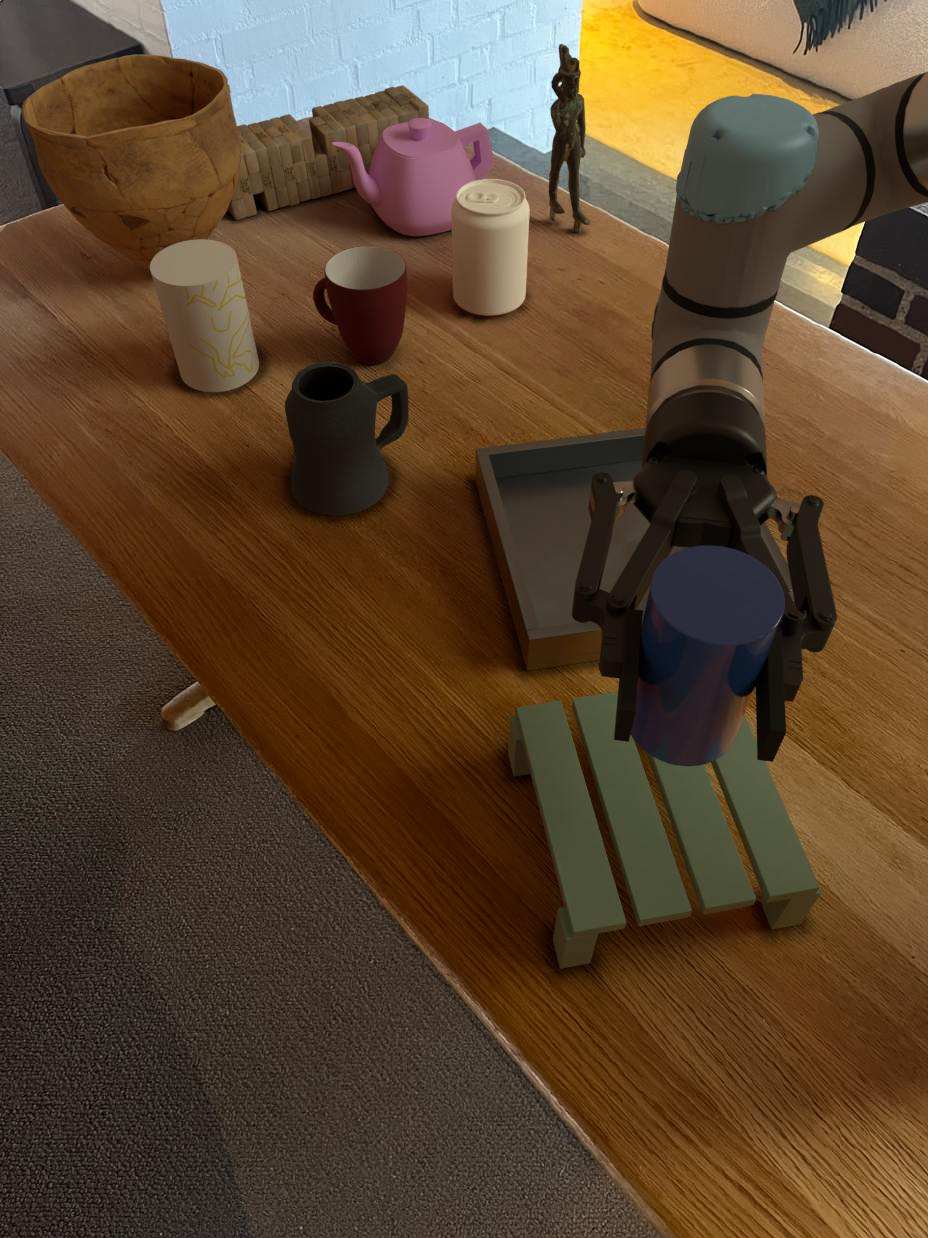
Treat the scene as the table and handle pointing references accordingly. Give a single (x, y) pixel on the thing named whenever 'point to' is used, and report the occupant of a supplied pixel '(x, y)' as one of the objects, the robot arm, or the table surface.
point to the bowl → (139, 149)
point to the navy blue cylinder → (702, 651)
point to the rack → (653, 828)
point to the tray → (562, 535)
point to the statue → (567, 135)
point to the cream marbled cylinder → (206, 314)
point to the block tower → (315, 149)
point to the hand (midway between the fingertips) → (697, 735)
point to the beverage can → (490, 246)
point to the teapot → (419, 173)
